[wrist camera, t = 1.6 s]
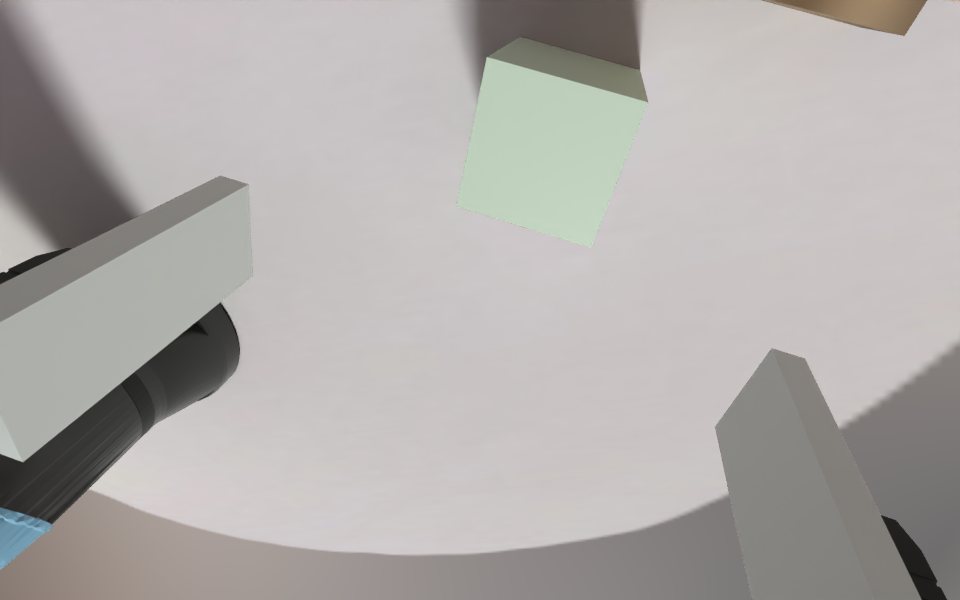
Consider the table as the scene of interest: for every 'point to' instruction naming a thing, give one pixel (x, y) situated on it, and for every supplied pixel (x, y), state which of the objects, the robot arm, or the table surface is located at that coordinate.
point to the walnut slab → (862, 12)
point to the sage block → (550, 138)
